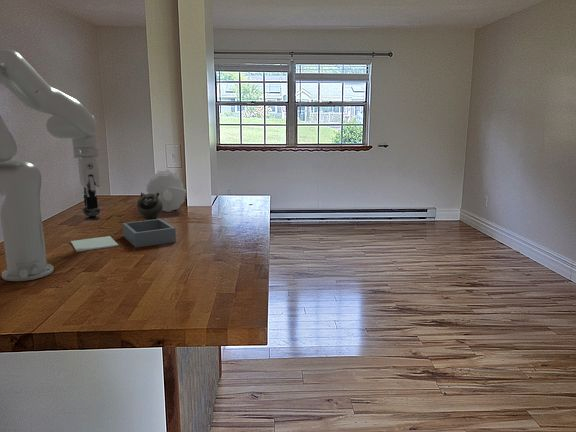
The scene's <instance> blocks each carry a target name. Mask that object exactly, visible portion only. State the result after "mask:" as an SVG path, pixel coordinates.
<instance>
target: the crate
mask: <svg viewBox="0 0 576 432" xmlns="http://www.w3.org/2000/svg"><path fill="white" fill-rule="evenodd" d="M144 220H145V219H144ZM122 235H123V237H124V238H125V240H127V241H128V242H129V243H130V244H131V245H132V246H133V247H134V248H135V249H136V248H142V247H143V248H144V247H150V246H156V245H162V244H163V245H164V244H170V243H176V242H177V235H176V227H174V226H173V225H171V224H169V223H168V222H167V221H165V220H163V219H162V218H158V219H154V220H145V221H143V220H139V221H138V220H137V221H130V222H129V221H128V222H122Z"/></svg>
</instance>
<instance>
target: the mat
mask: <svg viewBox="0 0 576 432" xmlns="http://www.w3.org/2000/svg"><path fill="white" fill-rule="evenodd" d="M70 243H71V245H72V247H73V248H74V250H75V251H76V253H78V252H85V251H94V250H101V249H107V248H114V247H118V246H119V244H118V243H117V242H116V241H115V239H114V238H113V237H112V236H110V235H108V236H99V237H92V238H84V239H76V240H70Z"/></svg>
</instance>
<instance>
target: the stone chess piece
mask: <svg viewBox="0 0 576 432" xmlns="http://www.w3.org/2000/svg"><path fill="white" fill-rule="evenodd" d="M88 187H90V186H88ZM88 190H90V189H88ZM84 195H86V197H87V192H86V188H85V194H84ZM86 197H85V199H86ZM101 209H102V207H100V206H98V208H93V209H88V208H87V200H86V206H84V208H82V209H81V211H83V214H84V215H85V218H83V220H84V221H87V222H88V221H90V222H91V221H98V220H101V217H100V216H99V214H100V212H101Z"/></svg>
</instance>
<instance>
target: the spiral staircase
mask: <svg viewBox="0 0 576 432" xmlns="http://www.w3.org/2000/svg"><path fill="white" fill-rule="evenodd" d="M148 180H149V181H148V182H147V184H146V192H147V194H155V195H156V193H159V196H158V197H159V198H160V199H161V201H162V204H163V207H162V211H164V212H167V213H168V211H170V212H171V211H174V210H177V209H180V206H181V205H182V204H184V203H185V201H186V199H185V196H186V194H187V190H186V189H185V188H184V184H183V182H182V180H181V177H180V176H179V175H178V174H177V172H172V171H171V170H170V169H166V170H157V172H156V173H154V174H152V175H151V176H149V179H148Z"/></svg>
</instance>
